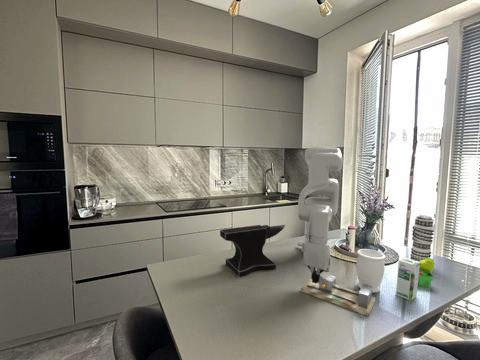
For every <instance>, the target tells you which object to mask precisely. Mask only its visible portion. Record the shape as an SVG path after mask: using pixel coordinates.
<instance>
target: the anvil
mask: <svg viewBox="0 0 480 360" xmlns="http://www.w3.org/2000/svg"><path fill="white" fill-rule="evenodd" d="M285 227H286V224H281V225H271V226H270V225H267V224H264V225H260V224H256V225H250V226H249V225H247V226H241V227H232V228H225V229H220V230H219V236H220V237H221V238H222V239H223V240H224V241H227V242H231V243H232V244H233V245H234V249H235V252H234V255H233V256H232V257H230V258H225V265H226V266H227V268H229V269H230V271H231V272H232V273H233V274H234V275H235V276H236V277H237V278H238V279H239V278H245V277H247V276H249V275H251V274H253V273H256V272H270V271H276V270H277V263H276V262H274V261H273V260H271V259H270V258H269V257H268V256H266V255H265V253H264V252H263V251H264V250H263V249H264V246H265V245H266V242H267V240H268V239H271V238H273V237H275V236H277V235H278V234H279V233H280V232H281V231H283V229H285Z"/></svg>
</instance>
